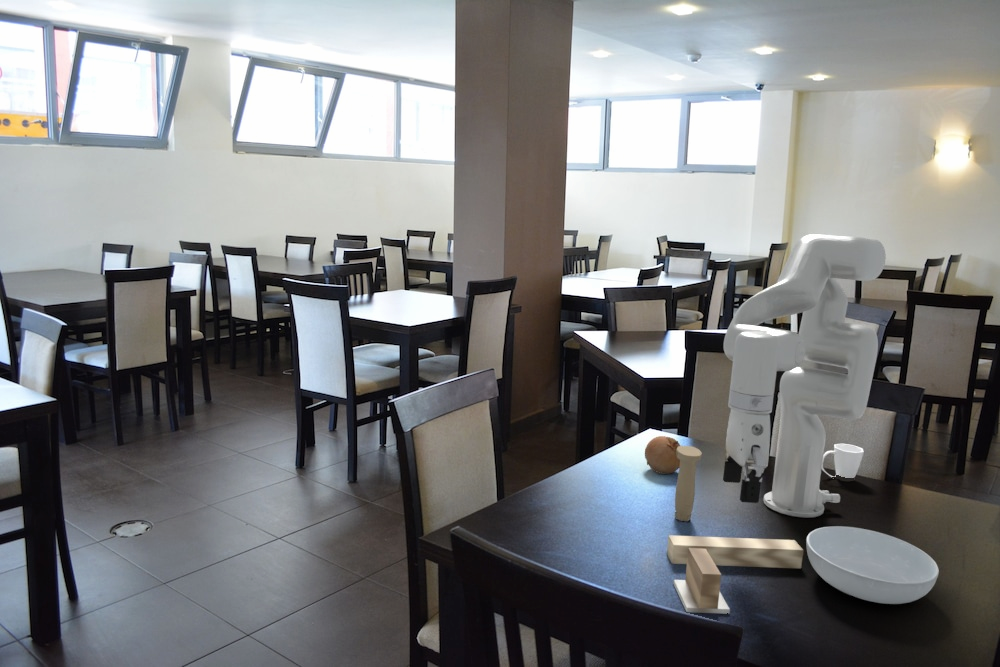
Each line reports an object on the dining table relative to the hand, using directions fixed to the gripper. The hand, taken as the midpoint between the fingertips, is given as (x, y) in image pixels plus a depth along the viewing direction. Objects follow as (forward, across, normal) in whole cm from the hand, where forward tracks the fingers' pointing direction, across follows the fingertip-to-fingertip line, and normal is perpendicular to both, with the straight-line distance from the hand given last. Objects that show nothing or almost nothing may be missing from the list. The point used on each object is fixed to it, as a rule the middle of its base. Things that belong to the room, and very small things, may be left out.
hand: (739, 491), depth 136 cm
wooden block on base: (+14, -13, +10) cm, 22 cm away
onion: (+13, +47, +2) cm, 49 cm away
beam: (+14, +1, 0) cm, 14 cm away
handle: (+14, +19, +4) cm, 24 cm away
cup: (+13, +47, -42) cm, 64 cm away
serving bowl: (+14, -7, -22) cm, 27 cm away
